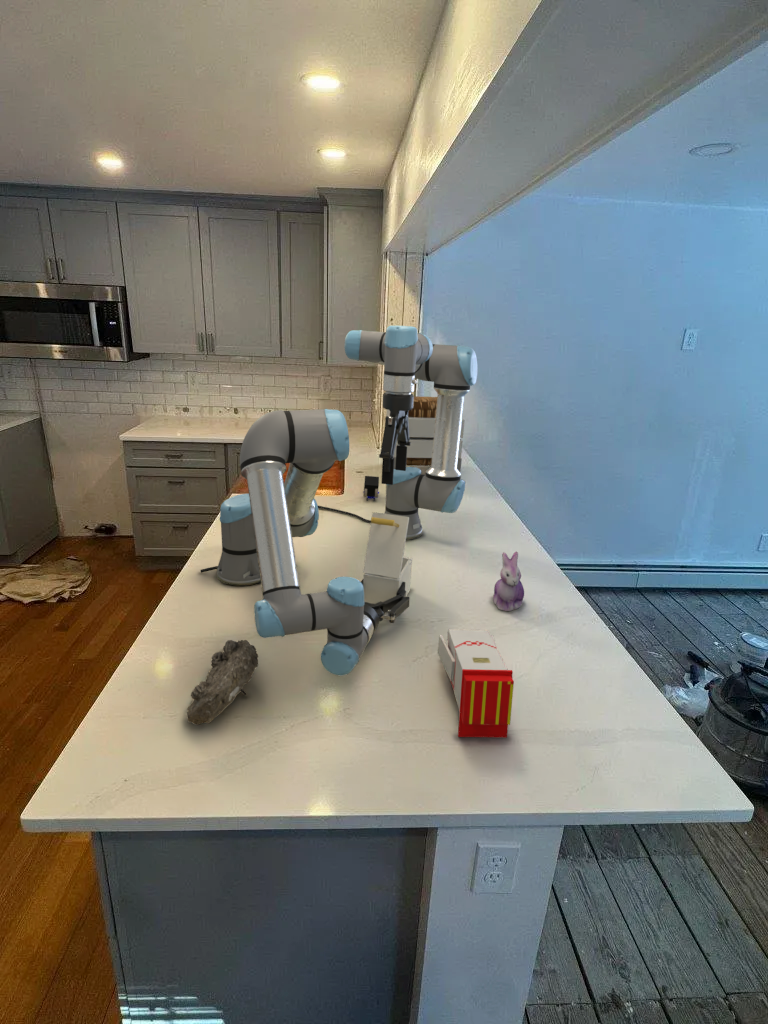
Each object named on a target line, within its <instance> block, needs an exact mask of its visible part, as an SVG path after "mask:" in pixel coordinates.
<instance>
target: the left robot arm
mask: <svg viewBox="0 0 768 1024" xmlns="http://www.w3.org/2000/svg"><path fill="white" fill-rule="evenodd" d="M348 429H349V428H348V423H347V420H346V417H345V415H344V413H343V412H342V411H340V410H338V409H328V408H323V409H322V408H320V409H319V408H318V409H293V410H283V409H280V410H279V409H278V410H272V411H269V412H266V413H265V414H263V415H260V417H259V418H257V419H256V420H255V421H254V422H253V424H251V426H250V427H249V429H248V430H247V432H246V434H245V436H244V438H243V441H242V444H241V448H240V452H239V467H240V475H241V477H243V479H245V480H246V482H247V489H248V490H247V491H248V493H242V494H237V495H234V496H230V497H229V498H227V499H225V500H224V501H223V502H222V503H221V504H220V508H219V509H220V510H219V522H220V535H221V554H220V558H219V560H218V565H215V566H211V567H206V568H202V569H199V571H200V573H201V574H202V573H206V572H210V571H216V578H217V580H218V581H220V582H221V583H223V584H226V585H228V586H235V587H247V586H252V585H253V586H254V585H257V584H260V585H261V592H262V593H261V594H262V599H260V600H256V601H255V603H254V607H253V614H254V623H255V628H256V633H257V635H258V636H259V637H260V638H263V639H268V638H269V639H270V638H278V637H282V638H283V637H285V636H290V635H295V634H302V633H307V632H314V631H321V630H326V633H327V634H326V635H327V637H326V643H325V645H323V648H322V650H321V653H320V661H321V665H322V666H323V668H324V669H325V670H326V671H327V672H328V673H330V674H332V675H335V676H339V677H340V676H341V677H342V676H347V675H349V673H351V672H352V671H353V670H354V668H355V667H356V666H357V665H358V663H359V662H360V660H361V656H362V655H363V654H364V652H365V649H366V647H367V645H368V644H369V642H370V640H371V638H372V636H373V635H374V633H375V631H376V630H377V628H378V626H379V625H380V624H379V623H380V622H382V621H383V620H387V621H389V622H388V623H389V624H394V623H395V621H396V619H397V618H399V616H401V614H402V613H404V612H405V611H406V610H408V608H409V607H410V599H411V597H410V596H407V597H406V591H405V582H402V584H401V586H400V588H399V589H398V591H397V593H396V596H395V597H393V598H391V599H388V600H386V601H384V602H381V601H380V602H378V603H376V604H373V603H368V602H365V601H364V587H363V578H362V579H361V581H360V580H359V579H357V578H355V577H352V576H338V577H335V578H332V579H331V580H329V582H328V584H327V587H326V591H318V592H312V593H311V592H309V593H303V594H302V592H301V585H300V578H299V572H298V565H297V559H296V552H295V546H294V540H293V539H294V538H304V537H307V536H311V535H313V534H314V533H315V532H316V531H317V529H318V526H319V520H320V514H319V512H320V511H319V508H318V506H319V505H318V502H317V500H316V499H315V496H316V494H317V492H318V489H319V486H320V483H321V481H322V478H323V476H324V474H325V473H327V472H328V471H330V470H331V469H332V468H333V466H334V464H335V462H336V461H338V462H342V461H345V460H347V459H348V458H349V454H350V436H349V435H350V434H349V430H348ZM287 464H289V465H288V469H287ZM286 471H287V473H286ZM285 473H286V476H285V480H284V474H285ZM386 612H387V613H386Z"/></svg>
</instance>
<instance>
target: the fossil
mask: <svg viewBox="0 0 768 1024" xmlns="http://www.w3.org/2000/svg"><path fill="white" fill-rule="evenodd" d="M222 648H223V652H222V651H216V652H214V654H212V656H211V660H210V663H211V664H210V667H211V668H210V670H209V671H208V673H207V675H206V678H205V680H202V681H200V682H199V683H198V684H197V685H195V686H194V688H193V689H192V692H191V693H190V696H191V698H192V702H191V704H190V705H189V706H188V707H187V709H186V710H187V711H186V717H187V722H188V723H192V724H194V725H195V726H196V725H202V724H206V723H208V724H211V722H213V721H214V720H215V719H216V717H218V716H219V715H220V714H222V713H223V711H225V709H226V708H227V707H228V706H230V704H232V703H233V702H234V700H235V699H236V696H237V695H239V694H240V692H241V693H242V695H244V696H248V693H247V692H246V691H245V690H244V688H243V687H244V686H245V684H248V683H250V681H251V679H252V678H253V675H254V673H255V671H256V669H257V668H258V667H259V654H258V650H257V648H256V647H255V645H253V644H251V643H250V641H248V639H240V640H238V641H237V640H236V641H235V640H232V639H228V640H227V641H225V643H224V645H223V647H222Z"/></svg>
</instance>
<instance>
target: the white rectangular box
mask: <svg viewBox="0 0 768 1024" xmlns="http://www.w3.org/2000/svg"><path fill="white" fill-rule="evenodd" d="M370 520H371V523H370V526H369V532H368V538H367V544H366V549H365V550H366V551H365V556H364V557H365V558H364V563H363V568H362V569H363V570H362V573H363V574H365V573H368V574H374V575H380V576H386V577H392V578H398V579H400V575H401V568H402V562H403V557H404V556H405V549H406V541H407V540H406V536H407V529H408V523H409V517H405V516H397V515H390V514H384V513H383V512H382V513H381V512H375V511H372V513H371V519H370Z"/></svg>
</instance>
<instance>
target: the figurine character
mask: <svg viewBox="0 0 768 1024" xmlns="http://www.w3.org/2000/svg"><path fill="white" fill-rule="evenodd" d="M379 487H380V476H373V475H365V476H364V483H363V491H362V493H363V498H366V499H365V500H366V501H367V502H368V501H369V499H370V500H371V499H372V501H373V502H375V501H376V498H379V494H380V491H379Z"/></svg>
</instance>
